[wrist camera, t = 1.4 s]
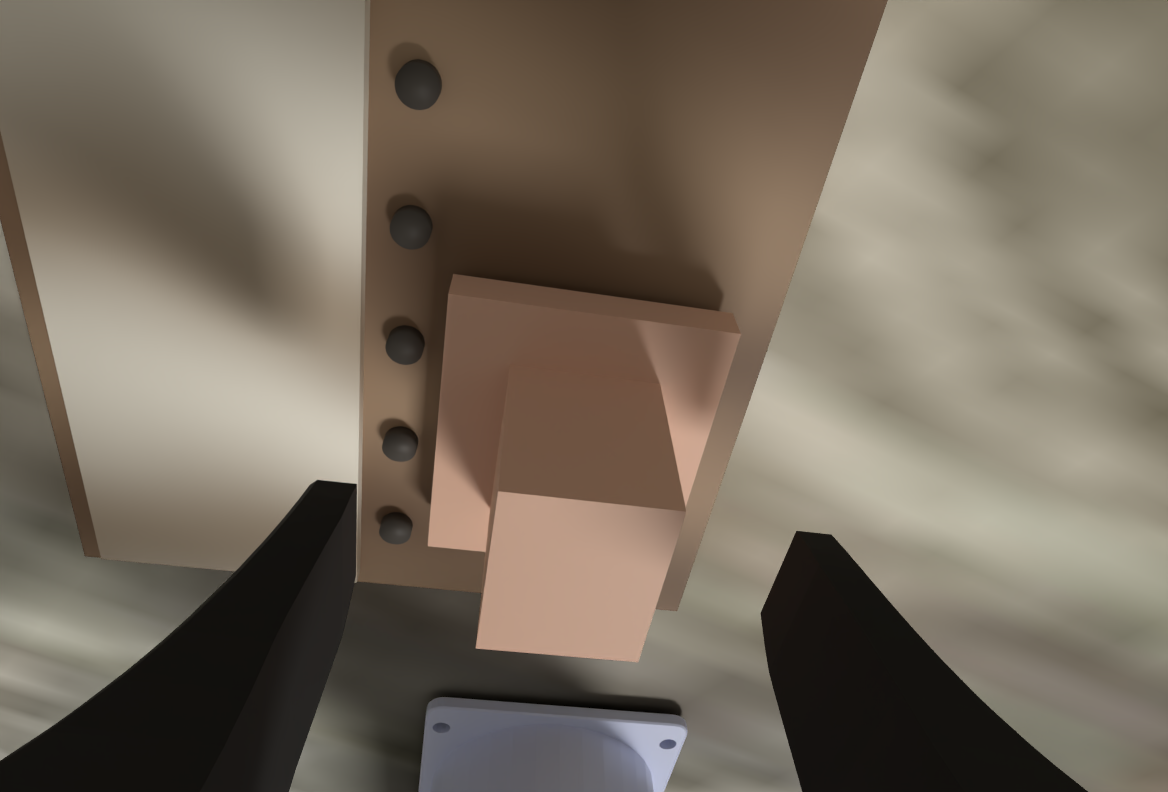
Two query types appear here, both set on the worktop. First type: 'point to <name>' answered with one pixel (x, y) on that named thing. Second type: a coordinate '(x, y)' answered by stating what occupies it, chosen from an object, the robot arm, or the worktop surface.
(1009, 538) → the worktop surface
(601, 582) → the peach plate with block
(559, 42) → the board
